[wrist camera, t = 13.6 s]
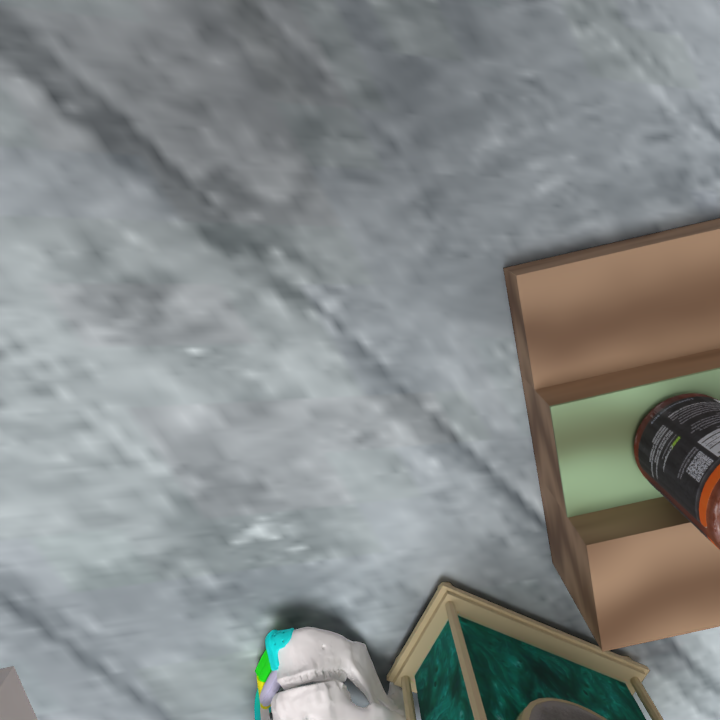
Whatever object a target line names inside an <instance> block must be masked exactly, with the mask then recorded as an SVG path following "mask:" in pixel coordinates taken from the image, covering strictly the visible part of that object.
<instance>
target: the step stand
mask: <svg viewBox="0 0 720 720" xmlns="http://www.w3.org/2000/svg"><path fill="white" fill-rule="evenodd" d="M503 269H504V275H505V281H506V287H507V293H508V299H509V305H510V311H511V317H512V323H513V329H514V335H515V341H516V347H517V353H518V359H519V365H520V371H521V377H522V383H523V389H524V395H525V401H526V407H527V413H528V419H529V425H530V431H531V437H532V443H533V448H534V454H535V460H536V466H537V472H538V478H539V484H540V490H541V496H542V502H543V508H544V514H545V520H546V526H547V532H548V538H549V544H550V550H551V556H552V562H553V564H554V566H555V568H556V570H557V572H558V573H559V575H560V577H561V579H562V580H563V582H564V584H565V586H566V588H567V589H568V591H569V593H570V595H571V597H572V598H573V600H574V602H575V604H576V606H577V607H578V609H579V611H580V613H581V614H582V616H583V618H584V620H585V622H586V623H587V625H588V627H589V629H590V631H591V632H592V634H593V636H594V638H595V640H596V641H597V643H598V645H599V647H600V648H601V650H602V652H604V651H608V650H613V649H618V648H622V647H627V646H631V645H636V644H641V643H645V642H650V641H654V640H659V639H664V638H668V637H673V636H677V635H682V634H687V633H691V632H696V631H700V630H705V629H710V628H714V627H719V626H720V550H719V549H718V548H717V547H716V546H715V545H714V544H713V543H712V542H711V541H709V540H708V539H707V538H706V537H705V536H704V535H703V534H702V533H701V532H700V531H699V530H698V529H697V528H696V527H695V526H694V525H693V524H692V523H691V522H690V521H689V520H688V519H687V518H686V517H685V516H684V515H682V514H681V513H680V512H679V511H678V510H677V509H676V508H675V507H674V506H673V505H672V504H671V503H670V502H669V501H668V500H667V499H666V498H665V497H664V496H663V495H662V494H661V493H660V492H659V491H658V490H656V489H655V488H654V487H653V486H652V485H651V484H650V483H649V482H648V480H647V479H646V478H645V477H644V476H643V475H642V473H641V471H640V470H639V468H638V466H637V463H636V460H635V456H634V440H635V436H636V433H637V430H638V428H639V425H640V424H641V422H642V420H643V419H644V418H645V416H646V415H647V414H648V413H649V412H650V411H651V410H652V409H653V408H654V407H655V406H656V405H658V404H659V403H660V402H662V401H664V400H666V399H668V398H671V397H674V396H677V395H681V394H688V393H698V394H704V395H707V396H711V397H713V398H715V399H718V400H719V401H720V218H718V219H714V220H709V221H705V222H701V223H696V224H692V225H688V226H683V227H679V228H675V229H671V230H666V231H662V232H658V233H653V234H649V235H645V236H640V237H636V238H632V239H627V240H623V241H619V242H614V243H610V244H606V245H601V246H597V247H593V248H588V249H584V250H580V251H575V252H571V253H567V254H562V255H558V256H554V257H549V258H545V259H541V260H536V261H532V262H528V263H523V264H519V265H515V266H510V267H506V268H503Z"/></svg>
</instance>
